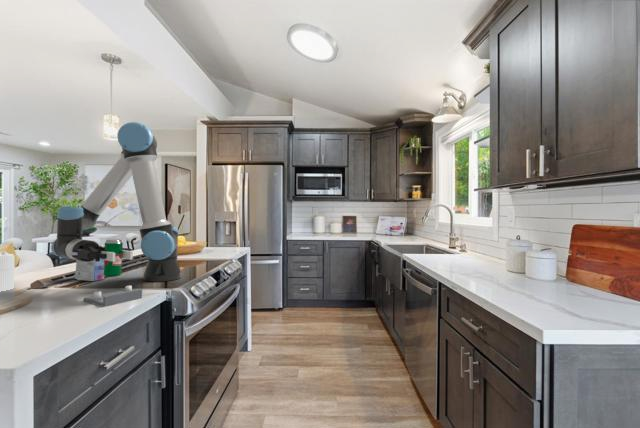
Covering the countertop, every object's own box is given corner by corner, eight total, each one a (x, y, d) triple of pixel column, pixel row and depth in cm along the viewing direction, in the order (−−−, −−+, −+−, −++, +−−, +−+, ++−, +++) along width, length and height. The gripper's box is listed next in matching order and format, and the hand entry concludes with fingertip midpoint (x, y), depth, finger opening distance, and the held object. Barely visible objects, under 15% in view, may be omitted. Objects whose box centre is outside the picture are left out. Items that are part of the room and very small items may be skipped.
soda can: (115, 277, 105) (116, 240, 105) (99, 276, 105) (101, 240, 105) (124, 274, 110) (126, 239, 110) (110, 274, 110) (111, 239, 110)
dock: (120, 293, 115) (120, 283, 115) (141, 298, 110) (142, 287, 110) (83, 300, 105) (83, 290, 105) (104, 306, 99) (105, 295, 99)
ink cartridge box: (105, 279, 138) (106, 245, 138) (94, 281, 133) (95, 246, 133) (86, 277, 140) (87, 244, 140) (74, 280, 135) (75, 245, 135)
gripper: (109, 258, 123) (148, 264, 113) (53, 263, 107) (92, 271, 97) (110, 238, 123) (149, 243, 113) (54, 241, 107) (93, 246, 97)
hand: (122, 256), depth 105 cm, fingers closed on soda can, 5 cm apart
